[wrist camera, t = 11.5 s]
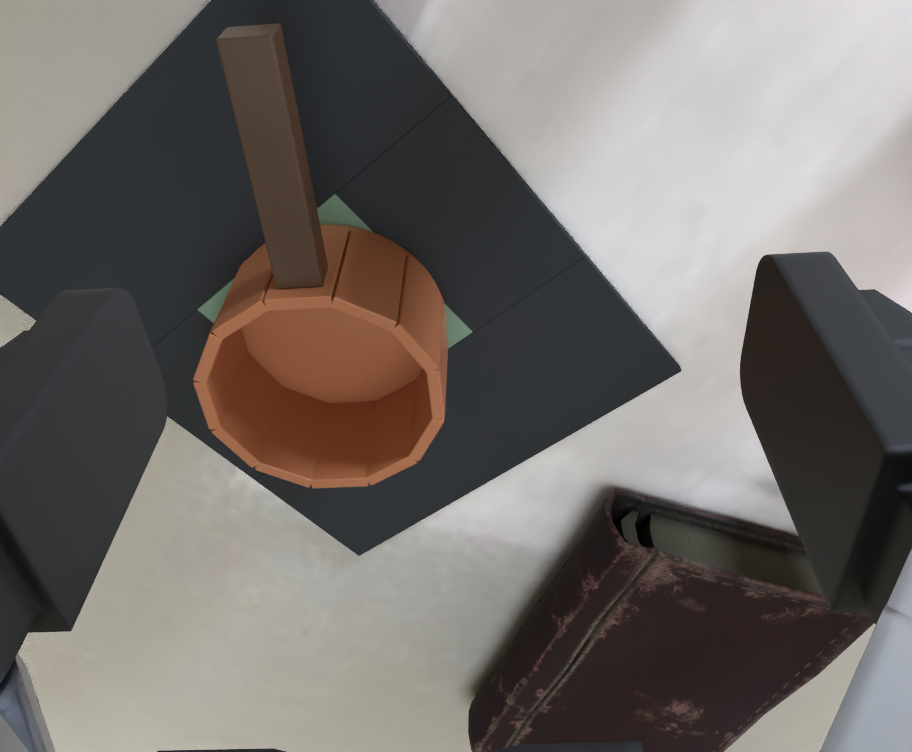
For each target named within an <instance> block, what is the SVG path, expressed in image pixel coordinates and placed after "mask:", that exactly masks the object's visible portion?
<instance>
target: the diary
mask: <svg viewBox="0 0 912 752" xmlns="http://www.w3.org/2000/svg"><path fill="white" fill-rule="evenodd" d="M874 623H875V622H874V620H873V618H872V616H871V613H870V612H851V613H831V612H830V610H829V607H828V605H827V603H826V600H825V598H824V595H823V593H822V590H821V588H820V586H819V583H818V581H817V578H816V576H815V574H814V571H813V569H812V566H811V564H810V561H809V559H808V557H807V554H806V552H805V549H804V547H803V544H802V542H801V540H800V538H796V537H793V536H789V535H785V534H781V533H778V532H774V531H770V530H766V529H763V528H759V527H755V526H751V525H747V524H744V523H740V522H736V521H732V520H729V519H725V518H721V517H717V516H714V515H710V514H706V513H702V512H698V511H695V510H691V509H687V508H683V507H680V506H676V505H672V504H668V503H664V502H661V501H657V500H653V499H649V498H646V499H644V498H643V497H642V496H638V495H634V494H631V493H627V492H623V491H619V490H613V491H612V492H611V493H610V495H609V496H608V498H607V499H606V501H605V502H604V504H603V505H602V507H601V509H600V510H599V512H598V513H597V515H596V517H595V518H594V520H593V521H592V523H591V525H590V526H589V528H588V529H587V531H586V533H585V534H584V536H583V537H582V539H581V541H580V542H579V544H578V545H577V547H576V549H575V550H574V552H573V553H572V555H571V557H570V558H569V560H568V561H567V563H566V564H565V566H564V567H563V569H562V570H561V571H560V573H559V574H558V576H557V577H556V579H555V580H554V581H553V583H552V584H551V586H550V587H549V588H548V590H547V591H546V593H545V594H544V595H543V597H542V598H541V600H540V601H539V603H538V604H537V605H536V607H535V608H534V610H533V611H532V612H531V614H530V615H529V617H528V619H527V620H526V622H525V624H524V625H523V627H522V628H521V630H520V632H519V633H518V635H517V637H516V638H515V640H514V642H513V643H512V645H511V646H510V648H509V650H508V651H507V653H506V655H505V656H504V658H503V660H502V661H501V663H500V664H499V665H498V667H497V668H496V669H495V671H494V672H493V674H492V675H491V676H490V678H489V679H488V680H487V682H486V683H485V684H484V686H483V687H482V689H481V690H480V691H479V693H478V694H477V695H476V697H475V698H474V700H473V701H472V703H471V706H470V709H469V728H468V733H469V739H470V745H471V750H472V752H493V751H497V750H500V749H504V748H507V747H511V746H514V745H518V744H545V743H597V742H642V746H643V752H724V751H725V750H726V749H727V748H728V747H729V746H730V745H732V744H733V743H734V742H735V741H736V740H737V739H738V738H739V737H740V736H741V735H742V734H744V733H745V732H746V731H747V730H748V729H749V728H750V727H751V726H752V725H753V724H754V723H756V722H757V721H758V720H759V719H760V718H761V717H762V716H763V715H764V714H766V713H767V712H768V711H770V710H771V709H772V708H774V707H775V706H776V705H778V704H779V703H780V702H782V701H783V700H784V699H786V698H787V697H788V696H790V695H791V694H792V693H794V692H795V691H796V690H798V689H799V688H800V687H802V686H803V685H805V684H806V683H807V682H809V681H810V680H811V679H813V678H814V677H815V676H817V675H818V674H819V673H820V672H821V671H822V670H824V669H825V668H826V667H827V666H828V665H829V664H830V663H831V662H832V661H833V660H834V659H836V658H837V657H838V656H839V655H840V654H841V653H842V652H843V651H844V650H845V649H846V648H848V647H849V646H850V645H851V644H852V643H853V642H854V641H855V640H856V639H857V638H858V637H860V636H861V635H862V634H863V633H864V632H865V631H866V630H867V629H868V628H869V627H870V626H872V625H873V624H874Z"/></svg>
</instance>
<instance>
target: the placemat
mask: <svg viewBox="0 0 912 752" xmlns="http://www.w3.org/2000/svg"><path fill="white" fill-rule="evenodd" d="M276 23H279V24H280V25H281V27H282V32H283V37H284V42H285V47H286V52H287V58H288V63H289V68H290V73H291V78H292V83H293V88H294V94H295V99H296V104H297V109H298V114H299V119H300V124H301V129H302V135H303V140H304V145H305V150H306V155H307V160H308V165H309V170H310V176H311V181H312V186H313V191H314V196H315V201H316V206H317V211H318V217H319V222H320V225H343V226H351V227H356V228H360V229H364V230H368V231H370V232H373V233H376V234H379V235H381V236H383V237H385V238H387V239H389V240H391V241H393V242H395V243H396V244H398V245H399V246H401V247H402V248H404V249H405V250H407V251H408V252H409V253H410V254H411V255H413V256H414V257H415V258H416V259H417V260H418V261H419V262H420V263H421V264H422V265H423V266H424V267H425V268H426V270H427V271H428V272H429V274H430V275H431V277H432V278H433V280H434V281H435V283H436V285H437V287H438V289H439V291H440V293H441V295H442V299H443V300H444V305H445V311H446V322H447V338H448V359H447V382H446V404H445V418H444V423H443V424H442V426H441V428H440V429H439V431H438V432H437V434H436V436H435V437H434V439H433V440H432V442H431V443H430V445H429V447H428V448H427V450H426V451H425V453H424V455H423V456H422V458H421V459H420V461H417V463H416V464H414V465H412V466H410V467H408V468H406V469H404V470H402V471H400V472H398V473H396V474H394V475H392V476H390V477H388V478H386V479H384V480H382V481H380V482H378V483H376V484H374V485H370V484H368V486H362V487H336V488H312V485H311V486H310V487H309V488H308V487H305V486H302V485H299V484H296V483H293V482H290V481H287V480H284V479H281V478H278V477H275V476H272V475H269V474H266V473H263V472H260V471H257V470H255V467H256V466H255V467H253V468H252V467H250V466H249V465H248V464H247V463H246V462H245V461H243V460H242V459H241V458H240V457H239V456H238V455H237V454H235V453H234V452H233V451H232V450H231V449H230V448H229V447H227V446H226V445H225V444H224V443H223V442H222V441H221V440H220V439H218V438H217V437H216V436H215V435H214V434H213V433H212V429H211V430H210V429H209V427H208V424H207V421H206V419H205V416H204V413H203V410H202V407H201V404H200V401H199V398H198V395H197V393H196V390H195V387H194V384H193V382H194V380H193V378H194V375H195V372H196V369H197V367H198V364H199V361H200V358H201V355H202V353H203V350H204V347H205V344H206V342H207V339H208V336H209V333H210V331H211V329H212V327H213V325H214V322H215V320H216V318H217V316H218V314H219V311H220V309H221V307H222V305H223V303H224V300H225V298H226V296H227V294H228V292H229V289H230V287H231V285H232V283H233V281H234V278H235V276H236V274H237V272H238V270H239V267H240V265H242V264H243V262H244V261H245V260H247V259H248V258H249V257H250V256H251V255H252V254H253V253H254V252H255V251H256V250H257V249H258V248H259V247H261V246H262V245H263V244H265V240H264V236H263V232H262V227H261V223H260V219H259V215H258V211H257V207H256V203H255V199H254V195H253V191H252V186H251V182H250V178H249V174H248V170H247V166H246V162H245V158H244V154H243V150H242V146H241V141H240V137H239V133H238V129H237V125H236V121H235V117H234V113H233V109H232V105H231V101H230V96H229V92H228V88H227V84H226V80H225V76H224V72H223V68H222V64H221V60H220V56H219V51H218V47H217V43H216V39H217V38H218V37H219V36H220V35H221V33H222V32H223V31H224V30H225V29H226V28H227V27H236V26H249V25H262V24H276ZM104 288H123V289H125V290H126V291H127V292H128V293H129V294H130V295H131V296H132V298H133V300H134V302H135V304H136V307H137V309H138V312H139V315H140V317H141V320H142V323H143V325H144V328H145V331H146V334H147V336H148V339H149V342H150V344H151V347H152V350H153V352H154V355H155V358H156V361H157V363H158V366H159V369H160V371H161V374H162V377H163V379H164V383H165V386H166V391H167V401H168V410H167V416H168V417H169V418H171V419H172V420H174V421H175V422H176V423H178V424H179V425H180V426H182V427H183V428H184V429H186V430H187V431H189V432H190V433H191V434H193V435H194V436H195V437H197V438H198V439H200V440H201V441H202V442H204V443H205V444H206V445H208V446H209V447H211V448H212V449H213V450H215V451H216V452H217V453H219V454H220V455H221V456H223V457H224V458H226V459H227V460H228V461H230V462H231V463H232V464H234V465H235V466H237V467H238V468H239V469H241V470H242V471H243V472H245V473H246V474H248V475H249V476H250V477H252V478H253V479H255V480H256V481H257V482H259V483H260V484H261V485H263V486H264V487H265V488H267V489H268V490H269V491H271V492H272V493H274V494H275V495H276V496H278V497H279V498H280V499H282V500H283V501H285V502H286V503H287V504H289V505H290V506H291V507H293V508H294V509H296V510H297V511H298V512H300V513H301V514H302V515H304V516H305V517H306V518H308V519H309V520H311V521H312V522H313V523H315V524H316V525H317V526H319V527H320V528H322V529H323V530H324V531H326V532H327V533H328V534H330V535H331V536H333V537H334V538H335V539H337V540H338V541H339V542H341V543H342V544H344V545H345V546H346V547H348V548H349V549H350V550H352V551H353V552H354V553H356V554H357V555H359V556H360V555H361V554H363V553H365V552H367V551H368V550H370V549H372V548H374V547H375V546H377V545H379V544H381V543H382V542H384V541H386V540H388V539H389V538H391V537H393V536H395V535H396V534H398V533H400V532H401V531H403V530H405V529H407V528H408V527H410V526H412V525H414V524H415V523H417V522H419V521H421V520H422V519H424V518H426V517H428V516H429V515H431V514H433V513H435V512H436V511H438V510H440V509H442V508H443V507H445V506H447V505H449V504H450V503H452V502H454V501H456V500H457V499H459V498H461V497H463V496H464V495H466V494H468V493H469V492H471V491H473V490H475V489H476V488H478V487H480V486H482V485H483V484H485V483H487V482H489V481H490V480H492V479H494V478H496V477H497V476H499V475H501V474H503V473H504V472H506V471H508V470H510V469H511V468H513V467H515V466H517V465H518V464H520V463H522V462H524V461H525V460H527V459H529V458H531V457H532V456H534V455H536V454H538V453H539V452H541V451H543V450H544V449H546V448H548V447H550V446H551V445H553V444H555V443H557V442H558V441H560V440H562V439H564V438H565V437H567V436H569V435H571V434H572V433H574V432H576V431H578V430H579V429H581V428H583V427H585V426H586V425H588V424H590V423H592V422H593V421H595V420H597V419H599V418H600V417H602V416H604V415H606V414H607V413H609V412H611V411H613V410H614V409H616V408H618V407H619V406H621V405H623V404H625V403H626V402H628V401H630V400H632V399H633V398H635V397H637V396H639V395H640V394H642V393H644V392H646V391H647V390H649V389H651V388H653V387H654V386H656V385H658V384H660V383H661V382H663V381H665V380H667V379H668V378H670V377H672V376H674V375H675V374H677V373H679V372H681V368H680V366H679V365H678V364H677V363H676V361H675V360H674V359H673V358H672V357H671V355H670V354H669V353H668V352H667V351H666V349H665V348H664V347H663V346H662V345H661V344H660V342H659V341H658V340H657V339H656V338H655V336H654V335H653V334H652V333H651V332H650V330H649V329H648V328H647V327H646V326H645V324H644V323H643V322H642V321H641V320H640V318H639V317H638V316H637V315H636V314H635V312H634V311H633V310H632V309H631V308H630V306H629V305H628V304H627V303H626V302H625V301H624V299H623V298H622V297H621V296H620V295H619V293H618V292H617V291H616V290H615V289H614V287H613V286H612V285H611V284H610V283H609V281H608V280H607V279H606V278H605V277H604V275H603V274H602V273H601V272H600V271H599V269H598V268H597V267H596V266H595V265H594V264H593V262H592V261H591V260H590V259H589V258H588V256H587V255H586V254H585V253H584V252H583V250H582V249H581V248H580V247H579V246H578V244H577V243H576V242H575V241H574V240H573V238H572V237H571V236H570V235H569V234H568V232H567V231H566V230H565V229H564V228H563V227H562V225H561V224H560V223H559V222H558V221H557V219H556V218H555V217H554V216H553V215H552V213H551V212H550V211H549V210H548V209H547V207H546V206H545V205H544V204H543V203H542V201H541V200H540V199H539V198H538V197H537V195H536V194H535V193H534V192H533V191H532V190H531V188H530V187H529V186H528V185H527V184H526V182H525V181H524V180H523V179H522V178H521V176H520V175H519V174H518V173H517V172H516V170H515V169H514V168H513V167H512V166H511V164H510V163H509V162H508V161H507V160H506V158H505V157H504V156H503V155H502V154H501V152H500V151H499V150H498V149H497V148H496V147H495V145H494V144H493V143H492V142H491V141H490V139H489V138H488V137H487V136H486V135H485V133H484V132H483V131H482V130H481V129H480V127H479V126H478V125H477V124H476V123H475V121H474V120H473V119H472V118H471V117H470V115H469V114H468V113H467V112H466V111H465V110H464V108H463V107H462V106H461V105H460V104H459V102H458V101H457V100H456V99H455V98H454V96H453V95H452V94H451V93H450V92H449V90H448V89H447V88H446V87H445V86H444V84H443V83H442V82H441V81H440V80H439V78H438V77H437V76H436V75H435V74H434V73H433V71H432V70H431V69H430V68H429V67H428V65H427V64H426V63H425V62H424V61H423V59H422V58H421V57H420V56H419V55H418V53H417V52H416V51H415V50H414V49H413V47H412V46H411V45H410V44H409V43H408V41H407V40H406V39H405V38H404V37H403V36H402V34H401V33H400V32H399V31H398V30H397V28H396V27H395V26H394V25H393V24H392V22H391V21H390V20H389V19H388V18H387V16H386V15H385V14H384V13H383V12H382V10H381V9H380V8H379V7H378V6H377V4H376V3H375V2H374V1H373V0H211V2H210V3H209V4H208V5H207V6H206V7H205V8H204V9H203V10H202V11H201V12H200V13H199V14H198V16H197V17H196V18H195V19H194V20H193V21H192V22H191V23H190V24H189V25H188V26H187V27H186V28H185V29H184V31H183V32H182V33H181V34H180V35H179V36H178V37H177V38H176V39H175V40H174V41H173V42H172V43H171V44H170V46H169V47H168V48H167V49H166V50H165V51H164V52H163V53H162V54H161V55H160V56H159V57H158V58H157V59H156V61H155V62H154V63H153V64H152V65H151V66H150V67H149V68H148V69H147V70H146V71H145V72H144V73H143V75H142V76H141V77H140V78H139V79H138V80H137V81H136V82H135V83H134V84H133V85H132V86H131V87H130V88H129V90H128V91H127V92H126V93H125V94H124V95H123V96H122V97H121V98H120V99H119V100H118V101H117V102H116V103H115V105H114V106H113V107H112V108H111V109H110V110H109V111H108V112H107V113H106V114H105V115H104V116H103V117H102V118H101V120H100V121H99V122H98V123H97V124H96V125H95V126H94V127H93V128H92V129H91V130H90V131H89V132H88V134H87V135H86V136H85V137H84V138H83V139H82V140H81V141H80V142H79V143H78V144H77V145H76V146H75V147H74V149H73V150H72V151H71V152H70V153H69V154H68V155H67V156H66V157H65V158H64V159H63V160H62V161H61V162H60V164H59V165H58V166H57V167H56V168H55V169H54V170H53V171H52V172H51V173H50V174H49V175H48V176H47V178H46V179H45V180H44V181H43V182H42V183H41V184H40V185H39V186H38V187H37V188H36V189H35V190H34V191H33V193H32V194H31V195H30V196H29V197H28V198H27V199H26V200H25V201H24V202H23V203H22V204H21V205H20V206H19V208H18V209H17V210H16V211H15V212H14V213H13V214H12V215H11V216H10V217H9V218H8V219H7V220H6V221H5V223H4V224H3V225H2V226H1V227H0V294H1V295H2V296H3V297H5V298H6V299H8V300H9V301H10V302H12V303H13V304H14V305H16V306H17V307H19V308H20V309H21V310H23V311H24V312H25V313H27V314H28V315H30V316H31V317H32V318H34V319H35V320H36V321H37V320H38V318H39V317H40V316H41V315H42V313H43V312H44V311H45V309H46V308H47V307H48V305H49V304H50V303H51V301H52V300H53V299H54V298H55V296H56V295H57V294H58V293H60V292H62V291H66V290H85V289H104Z"/></svg>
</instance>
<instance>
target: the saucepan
mask: <svg viewBox="0 0 912 752" xmlns="http://www.w3.org/2000/svg"><path fill="white" fill-rule="evenodd" d="M216 43H217V47H218V51H219V56H220V60H221V64H222V68H223V72H224V76H225V80H226V84H227V88H228V92H229V96H230V101H231V105H232V109H233V113H234V117H235V121H236V125H237V129H238V133H239V137H240V141H241V146H242V150H243V154H244V158H245V162H246V166H247V170H248V174H249V178H250V182H251V186H252V191H253V195H254V199H255V203H256V207H257V211H258V215H259V219H260V223H261V227H262V232H263V236H264V240H265V244H263V245H262V246H261V247H259V248H258V249H257V250H256V251H255V252H254V253H253V254H252V255H251V256H250V257H249V258H248V259H247V260H245V261H244V262H243V264H242V265H240V267H239V270H238V272H237V274H236V276H235V278H234V281H233V283H232V285H231V287H230V289H229V292H228V294H227V296H226V298H225V300H224V303H223V305H222V307H221V309H220V311H219V314H218V316H217V318H216V320H215V322H214V325H213V327H212V329H211V331H210V333H209V336H208V339H207V342H206V344H205V347H204V350H203V353H202V355H201V358H200V361H199V364H198V367H197V369H196V372H195V375H194V378H193V380H194V382H193V384H194V387H195V390H196V393H197V395H198V398H199V401H200V404H201V407H202V410H203V413H204V416H205V419H206V421H207V424H208V427H209V429H210V430H211V429H212V433H213V434H214V435H215V436H216V437H217V438H218V439H220V440H221V441H222V442H223V443H224V444H225V445H226V446H227V447H229V448H230V449H231V450H232V451H233V452H234V453H235V454H237V455H238V456H239V457H240V458H241V459H242V460H243V461H245V462H246V463H247V464H248V465H249V466H250V467H252V468H253V467H255V466H256V467H255V470H257V471H260V472H263V473H266V474H269V475H272V476H275V477H278V478H281V479H284V480H287V481H290V482H293V483H296V484H299V485H302V486H305V487H308V488H309V487H310V486H311V485H312V488H336V487H362V486H368V484H370V485H374V484H376V483H378V482H380V481H382V480H384V479H386V478H388V477H390V476H392V475H394V474H396V473H398V472H400V471H402V470H404V469H406V468H408V467H410V466H412V465H414V464H416V463H417V461H420V459H421V458H422V456H423V455H424V453H425V451H426V450H427V448H428V447H429V445H430V443H431V442H432V440H433V439H434V437H435V436H436V434H437V432H438V431H439V429H440V428H441V426H442V424H443V423H444V418H445V404H446V382H447V359H448V338H447V322H446V311H445V305H444V300H443V299H442V295H441V293H440V291H439V289H438V287H437V285H436V283H435V281H434V280H433V278H432V277H431V275H430V274H429V272H428V271H427V270H426V268H425V267H424V266H423V265H422V264H421V263H420V262H419V261H418V260H417V259H416V258H415V257H414V256H413V255H411V254H410V253H409V252H408V251H407V250H405V249H404V248H402V247H401V246H399V245H398V244H396V243H395V242H393V241H391V240H389V239H387V238H385V237H383V236H381V235H379V234H376V233H373V232H370V231H368V230H364V229H360V228H356V227H351V226H343V225H320V222H319V217H318V211H317V206H316V201H315V196H314V191H313V186H312V181H311V176H310V170H309V165H308V160H307V155H306V150H305V145H304V140H303V135H302V129H301V124H300V119H299V114H298V109H297V104H296V99H295V94H294V88H293V83H292V78H291V73H290V68H289V63H288V58H287V52H286V47H285V42H284V37H283V32H282V27H281V25H280V24H279V23H276V24H262V25H249V26H236V27H227V28H226V29H225V30H224V31H223V32H222V33H221V35H220V36H219V37H218V38H217V39H216Z"/></svg>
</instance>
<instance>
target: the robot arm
mask: <svg viewBox="0 0 912 752" xmlns="http://www.w3.org/2000/svg"><path fill="white" fill-rule="evenodd" d="M740 381H741V390H742V395H743V400H744V403H745V406H746V409H747V411H748V413H749V416H750V418H751V421H752V423H753V426H754V428H755V430H756V433H757V435H758V438H759V440H760V443H761V445H762V447H763V450H764V452H765V455H766V457H767V460H768V462H769V464H770V467H771V469H772V472H773V474H774V477H775V479H776V481H777V484H778V486H779V489H780V491H781V493H782V496H783V498H784V501H785V503H786V506H787V508H788V510H789V513H790V515H791V518H792V520H793V523H794V525H795V527H796V530H797V532H798V535H799V537H800V540H801V542H802V544H803V547H804V549H805V552H806V554H807V557H808V559H809V561H810V564H811V566H812V569H813V571H814V574H815V576H816V578H817V581H818V583H819V586H820V588H821V590H822V593H823V595H824V598H825V600H826V603H827V605H828V607H829V610H830V612H831V613H851V612H870V613H871V616H872V618H873V620H874V622H875V624H876V626H875V629H874V631H873V633H872V635H871V638H870V640H869V642H868V644H867V647H866V649H865V651H864V653H863V656H862V658H861V660H860V662H859V665H858V667H857V669H856V671H855V674H854V676H853V678H852V680H851V683H850V685H849V687H848V690H847V692H846V694H845V696H844V699H843V701H842V703H841V705H840V708H839V710H838V712H837V714H836V717H835V719H834V721H833V723H832V726H831V728H830V730H829V732H828V735H827V737H826V739H825V741H824V744H823V746H822V748H821V750H820V752H912V313H911V312H910V311H908V310H906V309H905V308H903V307H902V306H900V305H899V304H897V303H895V302H894V301H892V300H891V299H889V298H887V297H886V296H884V295H883V294H881V293H880V292H878V291H876V290H875V289H874V290H858V289H857V288H856V286H855V285H854V283H853V282H852V281H851V279H850V278H849V276H848V275H847V274H846V272H845V271H844V269H843V268H842V266H841V265H840V264H839V262H838V261H837V259H836V258H835V257H834V256H833V254H831V253H830V252H810V253H791V254H772V255H765V256H763V257H762V259H761V260H760V262H759V264H758V267H757V271H756V276H755V281H754V287H753V292H752V298H751V304H750V309H749V315H748V320H747V326H746V332H745V337H744V343H743V348H742V354H741V362H740ZM167 410H168V401H167V391H166V386H165V383H164V379H163V377H162V374H161V371H160V369H159V366H158V363H157V361H156V358H155V355H154V352H153V350H152V347H151V344H150V342H149V339H148V336H147V334H146V331H145V328H144V325H143V323H142V320H141V317H140V315H139V312H138V309H137V307H136V304H135V302H134V300H133V298H132V296H131V295H130V294H129V293H128V292H127V291H126V290H125V289H123V288H104V289H85V290H66V291H62V292H60V293H58V294H57V295H56V296H55V298H54V299H53V300H52V301H51V303H50V304H49V305H48V307H47V308H46V309H45V311H44V312H43V313H42V315H41V316H40V317H39V318H38V320H37V321H36V322H35V324H34V325H33V326H32V328H31V329H30V330H27V331H23V332H22V333H21V334H19V335H18V336H16V337H15V338H14V339H12V340H11V341H9V342H8V343H7V344H5V345H4V346H2V347H1V348H0V752H55V749H54V746H53V743H52V740H51V737H50V734H49V731H48V728H47V725H46V722H45V719H44V717H43V714H42V711H41V708H40V705H39V702H38V699H37V696H36V693H35V690H34V687H33V684H32V681H31V678H30V675H29V672H28V669H27V667H26V665H25V663H24V662H23V660H22V659H21V657H20V656H19V654H18V651H19V649H20V647H21V645H22V643H23V641H24V639H25V637H26V635H27V633H28V632H61V631H71V630H72V628H73V626H74V624H75V621H76V619H77V617H78V615H79V613H80V611H81V608H82V606H83V604H84V602H85V600H86V597H87V595H88V593H89V591H90V589H91V587H92V584H93V582H94V580H95V578H96V576H97V573H98V571H99V569H100V567H101V565H102V562H103V560H104V558H105V556H106V554H107V552H108V549H109V547H110V545H111V543H112V541H113V538H114V536H115V534H116V532H117V530H118V528H119V525H120V523H121V521H122V519H123V517H124V514H125V512H126V510H127V508H128V506H129V504H130V501H131V499H132V497H133V495H134V493H135V490H136V488H137V486H138V484H139V482H140V479H141V477H142V475H143V473H144V471H145V469H146V466H147V464H148V462H149V460H150V458H151V455H152V453H153V451H154V449H155V447H156V445H157V442H158V440H159V438H160V436H161V434H162V431H163V429H164V426H165V423H166V418H167ZM158 752H285V751H281V750H277V749H228V750H175V751H158ZM493 752H643V746H642V742H597V743H545V744H518V745H514V746H511V747H507V748H504V749H500V750H497V751H493Z"/></svg>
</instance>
